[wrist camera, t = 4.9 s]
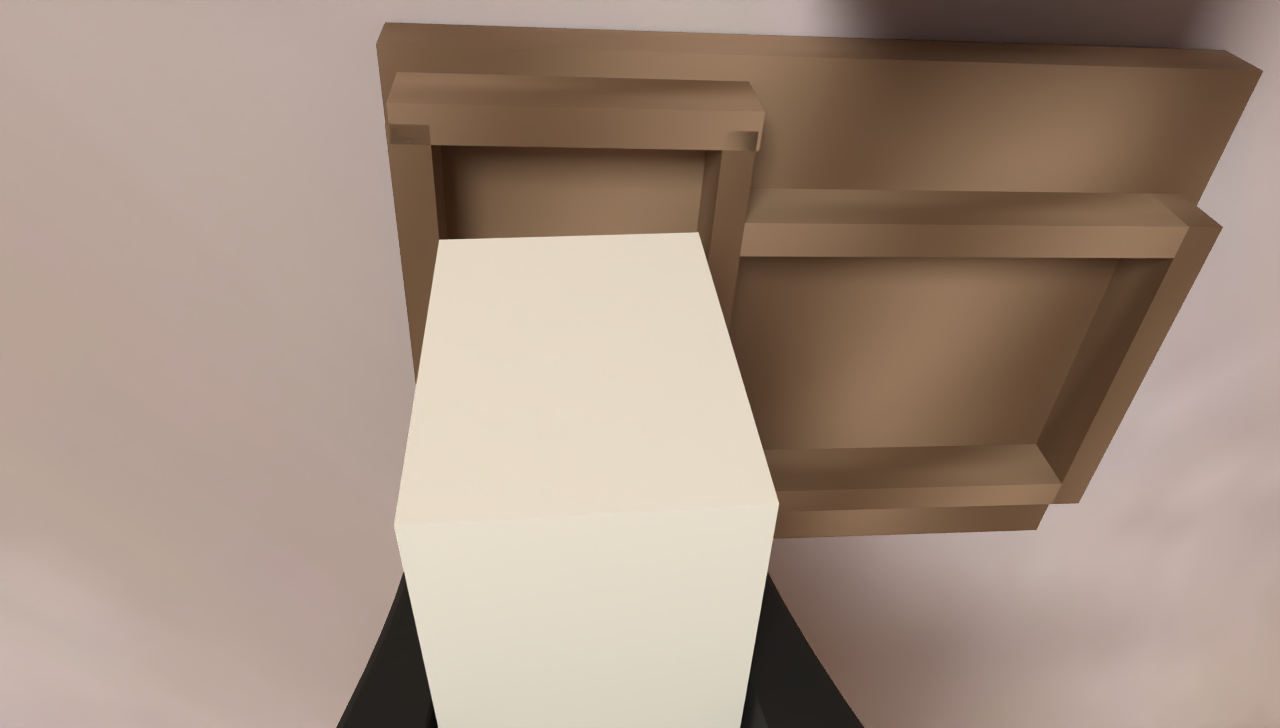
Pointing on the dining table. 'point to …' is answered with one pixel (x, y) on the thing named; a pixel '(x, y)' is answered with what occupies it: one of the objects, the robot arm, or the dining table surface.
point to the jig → (852, 231)
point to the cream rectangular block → (583, 488)
